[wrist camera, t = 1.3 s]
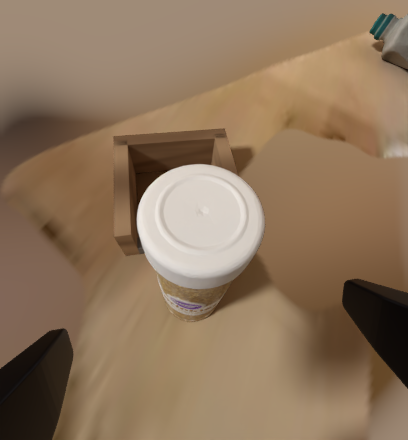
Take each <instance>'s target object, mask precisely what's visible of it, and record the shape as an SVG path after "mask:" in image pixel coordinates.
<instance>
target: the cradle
mask: <svg viewBox="0 0 408 440" xmlns="http://www.w3.org/2000/svg"><path fill="white" fill-rule="evenodd" d="M194 164H206V165H213V166H217V167H220V168H223V169H226V170H228V171H231V172H232V173H234V174H236V175H237V176H238V172H237V169H236V165H235V162H234V159H233V155H232V152H231V148H230V145H229V142H228V138H227V135H226V132H225V129H211V130H197V131H182V132H168V133H154V134H140V135H125V136H114V238H115V239H116V241H117V242H118V244H119V246H120V247H121V249H122V250H123V252H124V254H125V255H126V256H128V255H135V254H142V253H145V252H144V250H143V247H142V244H141V240H140V238H139V233H138V228H137V212H138V210H137V192H136V174H135V173H146V172H157V171H168V170H172V169H175V168H178V167H181V166H186V165H194Z"/></svg>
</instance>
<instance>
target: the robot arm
mask: <svg viewBox="0 0 408 440" xmlns="http://www.w3.org/2000/svg"><path fill="white" fill-rule="evenodd" d="M342 303H343V307H344V308H345V310H346V311H347V313H348V314H349V316H350V317H351V318H352V320H353V321H354V322H355V324H356V325H357V327H358V328H359V329H360V331H361V332H362V334H363V335H364V336H365V338H366V339H367V340H368V342H369V343H370V344H371V346H372V347H373V348H374V350H375V351H376V352H377V353H378V355H379V356H380V357H381V358H382V359H383V360H384V362H385V363H386V364H387V365H388V366H389V367H390V369H391V370H392V371H393V372H394V373H395V374H396V376H397V377H398V378H399V379H400V380H401V381H402V383H403V384H404V385H405V386H406V387H407V388H408V293H406V292H403V291H399V290H395V289H392V288H389V287H385V286H382V285H378V284H374V283H371V282H367V281H364V280H361V279H352V280H347V281H346V282H345V283H344V289H343V298H342ZM72 361H73V349H72V345H71V342H70V338H69V335H68V332H67V330H66V329H57V330H51V331H49V332H47V333H46V334H45V335H44V336H42V337H41V338H40V339H38V340H37V341H36V342H34V343H33V344H32V345H31V346H29V347H28V348H27V349H25V350H24V351H23V352H22V353H20V354H19V355H18V356H16V357H15V358H14V359H12V360H11V361H10V362H8V363H7V364H6V365H5V366H3V367H2V368H1V369H0V440H52V438H53V435H54V432H55V429H56V426H57V423H58V420H59V416H60V412H61V408H62V404H63V400H64V396H65V391H66V387H67V383H68V378H69V374H70V369H71V365H72Z"/></svg>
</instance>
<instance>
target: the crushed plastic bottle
mask: <svg viewBox="0 0 408 440" xmlns="http://www.w3.org/2000/svg"><path fill="white" fill-rule="evenodd" d="M370 33H371V34H373V35H374V39H376V40H383V43H384V47H383V50H382V55H381V56H382V58H383V59H384V60H386V61H389V62H391V63H393V64H395V65H398V66H400V67H403V68H405V69H408V14H407V15H406V16H405V17H404V18H400V19H398V18H396V16H395V15H393V14H389V15H385V14H381V15H380V16H379V18H378V19H377V21H376V22H375V23H374V25H373V27H372V29H371V30H370Z"/></svg>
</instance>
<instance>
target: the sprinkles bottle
mask: <svg viewBox="0 0 408 440" xmlns="http://www.w3.org/2000/svg"><path fill="white" fill-rule="evenodd" d="M137 228H138V233H139V237H140V240H141V244H142V247H143V250H144V252H145V254H146V257H147V259H148V261H149V262H150V264H151V265H152V267H153V268H154V269H155V270H156V272H157V277H158V282H159V285H160V288H161V291H162V293H163V296H164V300H165V303H166V306H167V308H168V310H169V311H170V312H171V313H172V314H173V315H174V316H176V317H177V318H179V319H180V320H183V321H187V322H195V321H199V320H202V319H204V318H206V317H208V316H209V315H210V314H211V313H212V312H213V311H214V309H215V307H216V306H217V304H218V303H219V301H220V300H221V298H222V297H223V295H224V294H225V292H226V291H227V289H228V287H229V286H230V284H231V283H232V281H233V280H234V279H235V278H236V277H237V276H238V275H240V274H241V273H242V272H243V270H244V269H245V268H246V267H247V265H248V264H249V263H250V261H251V260H252V258H253V257H254V255H255V254H256V252H257V250H258V248H259V247H260V244H261V242H262V239H263V236H264V230H265V215H264V211H263V207H262V205H261V202H260V200H259V198H258V196H257V195H256V193H255V192H254V190H253V189H252V188H251V187H250V186H249V185H248V183H247V182H245V181H244V180H243V179H242V178H240V177H239V176H237V175H236V174H234V173H232V172H231V171H228V170H226V169H223V168H220V167H217V166H213V165H206V164H194V165H186V166H181V167H178V168H175V169H172V170H170V171H168V172H166V173H164V174H163V175H161V176H160V177H158V178H157V179H156V180H155V181H154V182H153V183H152V184H151V185H150V186H149V187H148V188H147V190H146V191H145V193H144V194H143V196H142V198H141V201H140V203H139V207H138V212H137Z"/></svg>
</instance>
